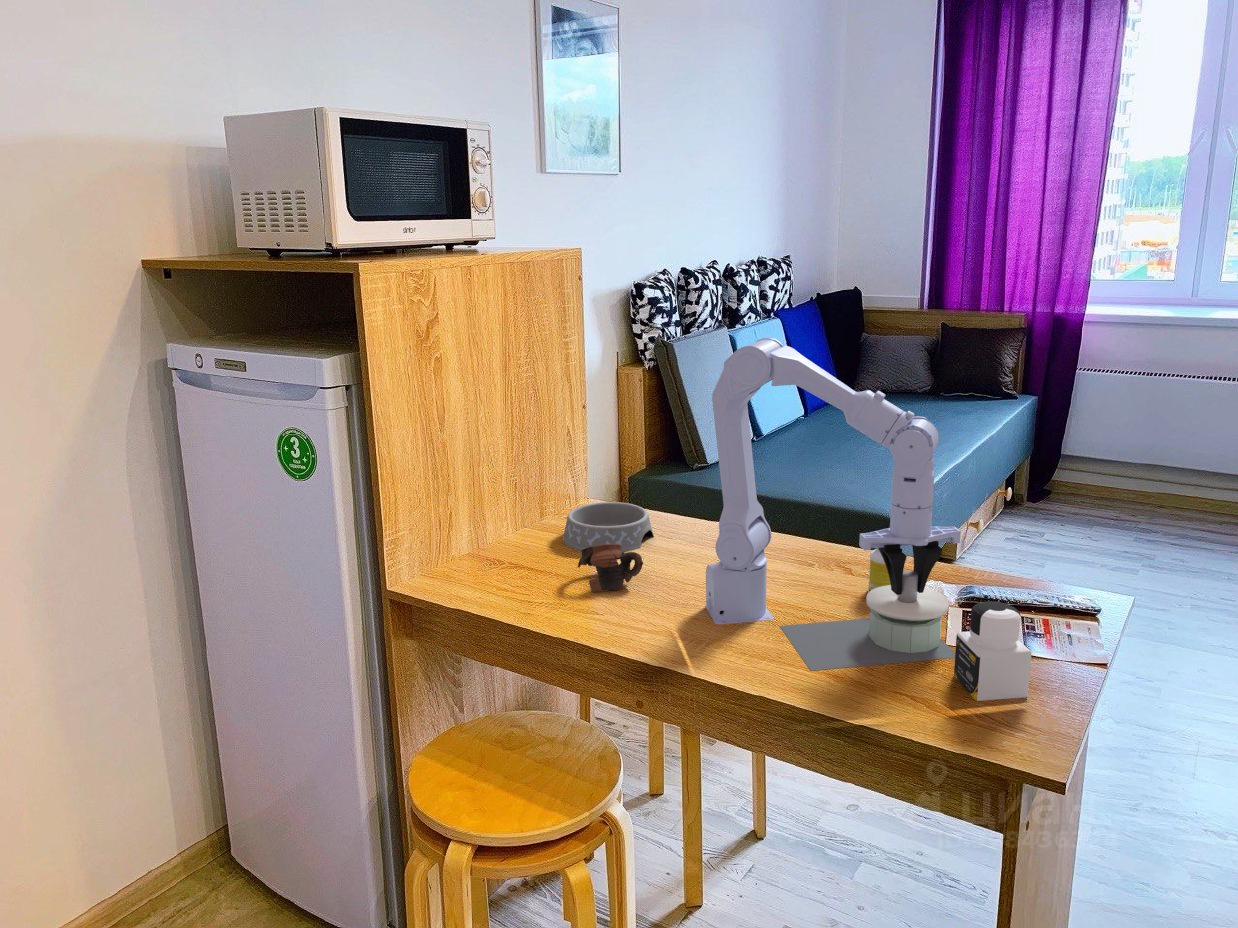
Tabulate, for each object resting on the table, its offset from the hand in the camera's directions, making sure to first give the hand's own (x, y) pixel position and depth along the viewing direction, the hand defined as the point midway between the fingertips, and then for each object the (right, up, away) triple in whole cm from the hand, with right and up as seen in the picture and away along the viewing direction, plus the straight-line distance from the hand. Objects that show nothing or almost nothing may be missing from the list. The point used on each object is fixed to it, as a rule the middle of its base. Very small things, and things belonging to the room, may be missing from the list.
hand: (907, 591), depth 142 cm
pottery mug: (-44, -2, +28) cm, 52 cm away
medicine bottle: (+7, -12, -13) cm, 19 cm away
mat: (-6, -8, +1) cm, 10 cm away
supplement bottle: (+2, -3, +19) cm, 19 cm away
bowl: (0, -7, +2) cm, 7 cm away
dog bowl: (-45, +4, +51) cm, 68 cm away
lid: (0, -2, 0) cm, 2 cm away
